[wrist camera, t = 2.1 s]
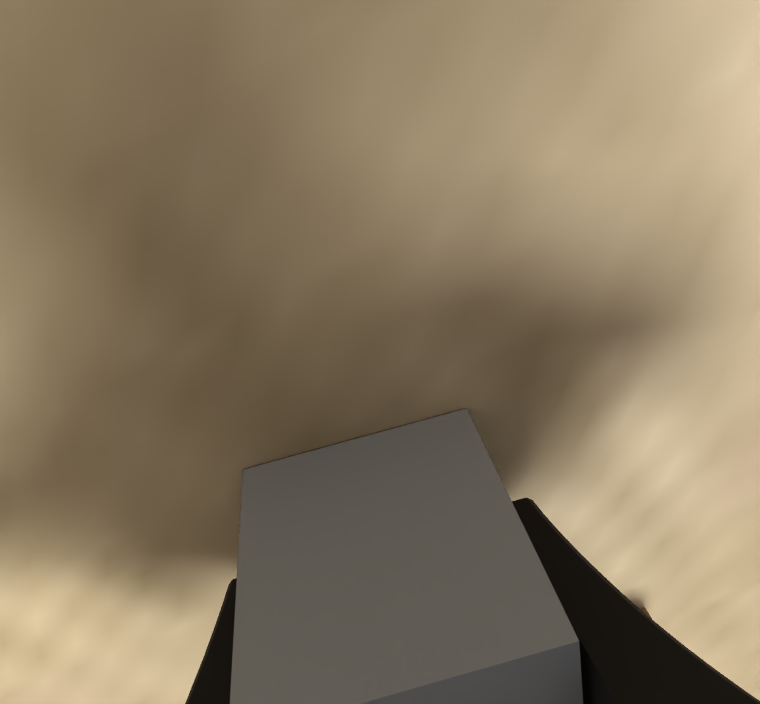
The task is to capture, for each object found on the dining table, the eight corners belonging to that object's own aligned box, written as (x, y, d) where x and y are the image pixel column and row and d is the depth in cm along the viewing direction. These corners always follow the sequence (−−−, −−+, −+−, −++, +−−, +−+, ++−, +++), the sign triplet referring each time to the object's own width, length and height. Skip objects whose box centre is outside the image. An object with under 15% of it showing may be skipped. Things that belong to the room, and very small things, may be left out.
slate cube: (466, 408, 12) (578, 641, 7) (492, 557, 14) (589, 799, 10) (242, 469, 12) (227, 741, 7) (306, 609, 14) (323, 877, 10)
